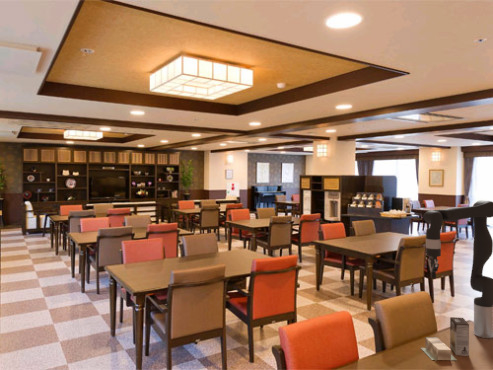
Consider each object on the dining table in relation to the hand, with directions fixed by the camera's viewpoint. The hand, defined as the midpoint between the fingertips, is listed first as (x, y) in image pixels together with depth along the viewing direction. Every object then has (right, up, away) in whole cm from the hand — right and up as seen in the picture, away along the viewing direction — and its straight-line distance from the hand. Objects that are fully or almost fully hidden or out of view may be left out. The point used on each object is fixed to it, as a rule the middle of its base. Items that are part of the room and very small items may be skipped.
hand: (433, 278), depth 208 cm
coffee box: (+5, -34, -17) cm, 38 cm away
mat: (-7, -33, -19) cm, 39 cm away
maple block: (-7, -31, -12) cm, 33 cm away
